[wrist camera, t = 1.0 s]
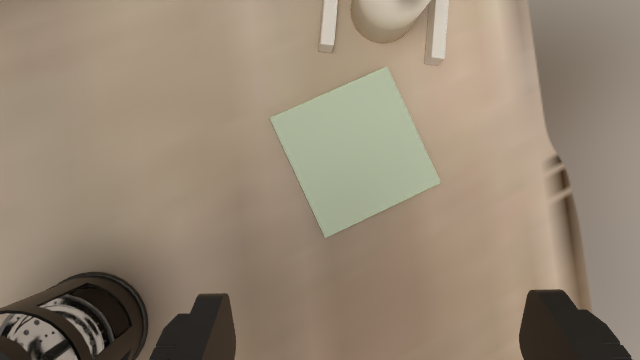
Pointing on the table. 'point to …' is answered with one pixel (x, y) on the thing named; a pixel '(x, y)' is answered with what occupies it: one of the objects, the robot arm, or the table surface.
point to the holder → (433, 38)
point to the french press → (73, 323)
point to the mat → (355, 151)
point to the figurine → (385, 18)
